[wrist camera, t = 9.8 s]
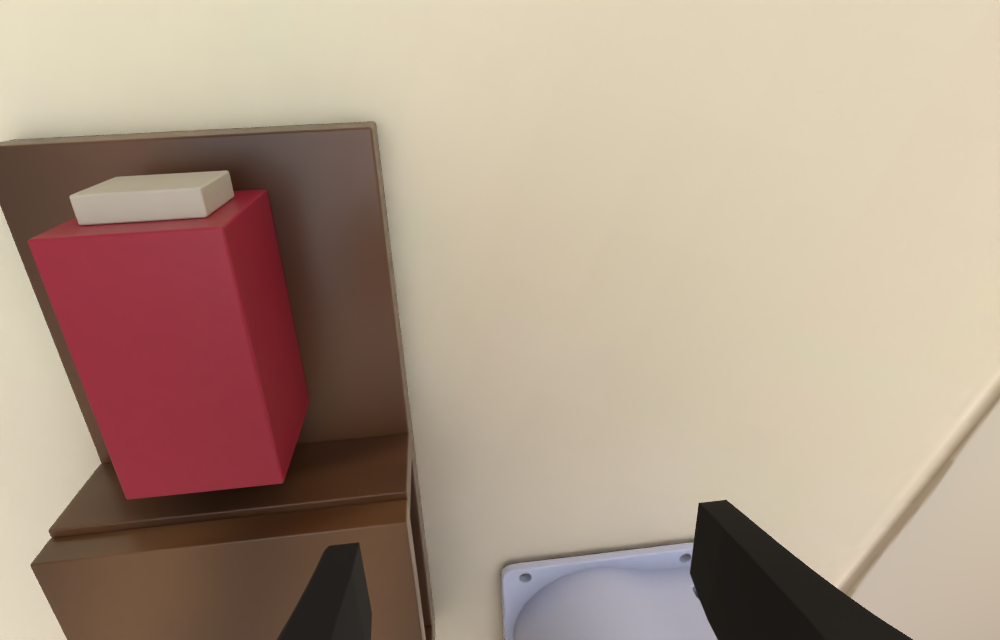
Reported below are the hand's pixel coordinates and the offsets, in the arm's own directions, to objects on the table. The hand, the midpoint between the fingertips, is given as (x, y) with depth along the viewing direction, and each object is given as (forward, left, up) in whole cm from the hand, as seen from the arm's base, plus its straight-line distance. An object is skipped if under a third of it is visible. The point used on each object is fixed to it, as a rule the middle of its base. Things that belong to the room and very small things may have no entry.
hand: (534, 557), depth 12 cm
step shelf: (+8, +2, -9) cm, 13 cm away
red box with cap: (+8, -3, -8) cm, 12 cm away
